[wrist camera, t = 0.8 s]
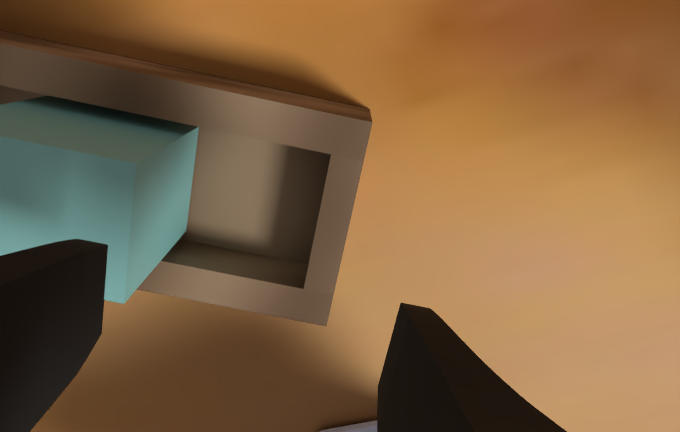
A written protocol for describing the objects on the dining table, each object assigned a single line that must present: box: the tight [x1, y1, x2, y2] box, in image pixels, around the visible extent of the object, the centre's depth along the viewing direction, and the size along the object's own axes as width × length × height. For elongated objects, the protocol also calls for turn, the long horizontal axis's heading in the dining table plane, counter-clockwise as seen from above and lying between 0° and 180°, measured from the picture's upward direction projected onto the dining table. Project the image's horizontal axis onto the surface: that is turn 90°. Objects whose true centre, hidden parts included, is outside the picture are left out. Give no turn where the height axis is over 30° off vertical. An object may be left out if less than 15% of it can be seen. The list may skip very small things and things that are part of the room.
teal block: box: [0, 95, 199, 304], centre depth 16 cm, size 5×4×6 cm
